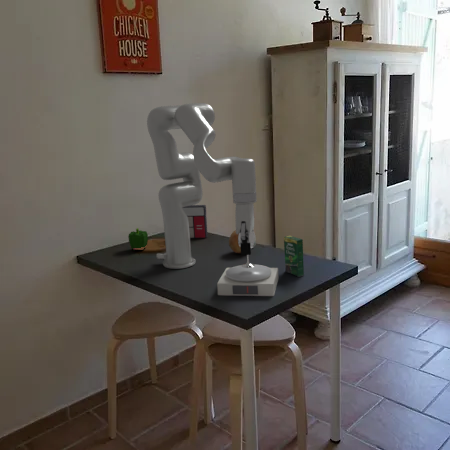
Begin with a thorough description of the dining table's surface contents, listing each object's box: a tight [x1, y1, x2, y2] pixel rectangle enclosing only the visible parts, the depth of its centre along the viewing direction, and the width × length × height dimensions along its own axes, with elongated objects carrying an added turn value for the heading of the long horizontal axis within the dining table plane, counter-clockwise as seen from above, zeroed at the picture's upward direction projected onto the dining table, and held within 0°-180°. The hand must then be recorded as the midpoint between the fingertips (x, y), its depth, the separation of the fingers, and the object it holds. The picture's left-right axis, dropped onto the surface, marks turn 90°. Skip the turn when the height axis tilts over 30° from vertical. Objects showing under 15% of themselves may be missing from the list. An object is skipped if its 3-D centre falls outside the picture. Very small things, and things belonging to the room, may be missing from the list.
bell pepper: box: [127, 227, 149, 250], centre depth 223 cm, size 8×8×10 cm
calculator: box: [182, 204, 208, 239], centre depth 237 cm, size 11×4×15 cm, turn 80°
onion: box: [228, 229, 241, 254], centre depth 209 cm, size 10×10×10 cm
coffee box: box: [283, 235, 305, 278], centre depth 180 cm, size 8×3×13 cm, turn 28°
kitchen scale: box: [216, 263, 279, 297], centre depth 170 cm, size 18×17×5 cm
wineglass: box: [238, 229, 257, 268], centre depth 168 cm, size 6×6×12 cm
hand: (247, 251), depth 168 cm, fingers closed on wineglass, 5 cm apart
